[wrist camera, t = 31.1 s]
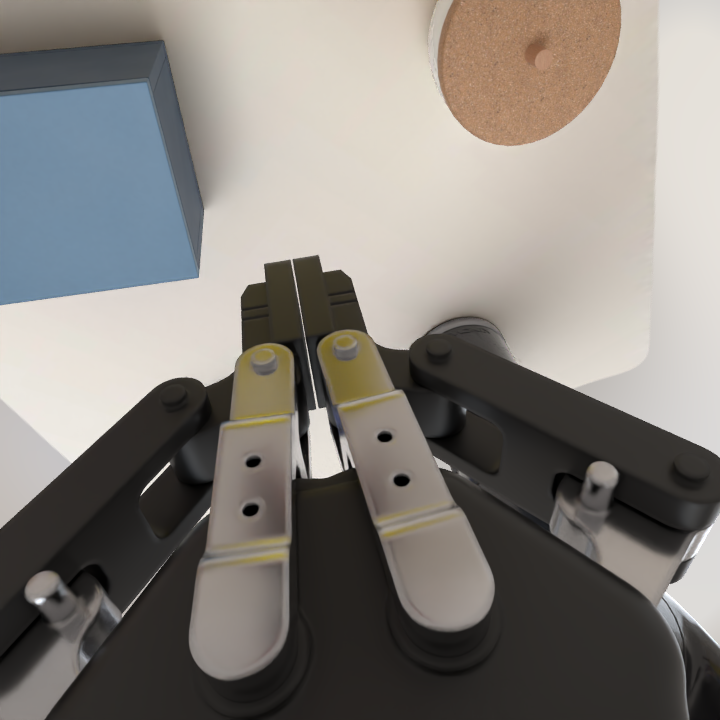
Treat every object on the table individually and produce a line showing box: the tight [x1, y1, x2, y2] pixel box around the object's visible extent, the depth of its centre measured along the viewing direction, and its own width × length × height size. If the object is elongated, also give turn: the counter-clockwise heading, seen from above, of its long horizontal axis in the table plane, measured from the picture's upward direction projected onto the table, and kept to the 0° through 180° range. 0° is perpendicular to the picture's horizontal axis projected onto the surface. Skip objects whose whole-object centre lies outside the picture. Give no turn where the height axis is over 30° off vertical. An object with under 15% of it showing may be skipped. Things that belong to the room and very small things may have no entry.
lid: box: [0, 78, 199, 305], centre depth 32 cm, size 14×12×1 cm
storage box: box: [0, 40, 204, 269], centre depth 36 cm, size 14×12×9 cm
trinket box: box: [428, 0, 621, 146], centre depth 35 cm, size 11×11×9 cm
